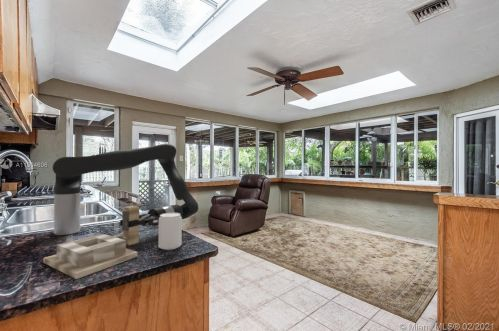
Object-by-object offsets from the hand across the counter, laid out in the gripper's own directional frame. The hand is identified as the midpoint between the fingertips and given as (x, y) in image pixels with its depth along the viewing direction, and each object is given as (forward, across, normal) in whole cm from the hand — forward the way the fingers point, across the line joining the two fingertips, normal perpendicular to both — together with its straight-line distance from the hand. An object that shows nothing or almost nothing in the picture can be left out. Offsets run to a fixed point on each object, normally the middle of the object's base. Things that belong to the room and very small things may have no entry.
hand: (124, 223), depth 89 cm
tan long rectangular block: (-3, 0, +8) cm, 8 cm away
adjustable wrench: (+1, -11, +9) cm, 14 cm away
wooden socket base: (+13, +4, +8) cm, 16 cm away
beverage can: (-8, +16, +8) cm, 19 cm away
